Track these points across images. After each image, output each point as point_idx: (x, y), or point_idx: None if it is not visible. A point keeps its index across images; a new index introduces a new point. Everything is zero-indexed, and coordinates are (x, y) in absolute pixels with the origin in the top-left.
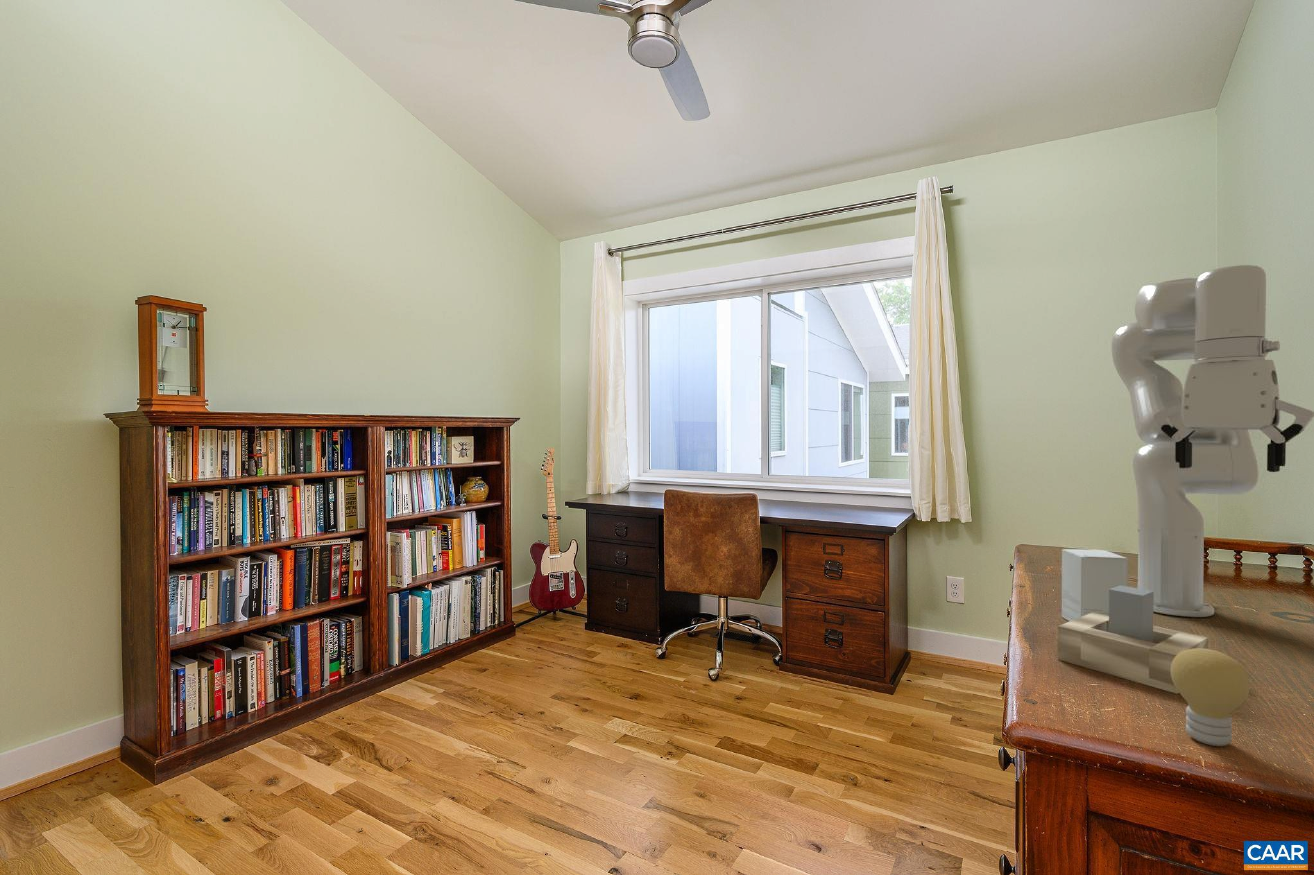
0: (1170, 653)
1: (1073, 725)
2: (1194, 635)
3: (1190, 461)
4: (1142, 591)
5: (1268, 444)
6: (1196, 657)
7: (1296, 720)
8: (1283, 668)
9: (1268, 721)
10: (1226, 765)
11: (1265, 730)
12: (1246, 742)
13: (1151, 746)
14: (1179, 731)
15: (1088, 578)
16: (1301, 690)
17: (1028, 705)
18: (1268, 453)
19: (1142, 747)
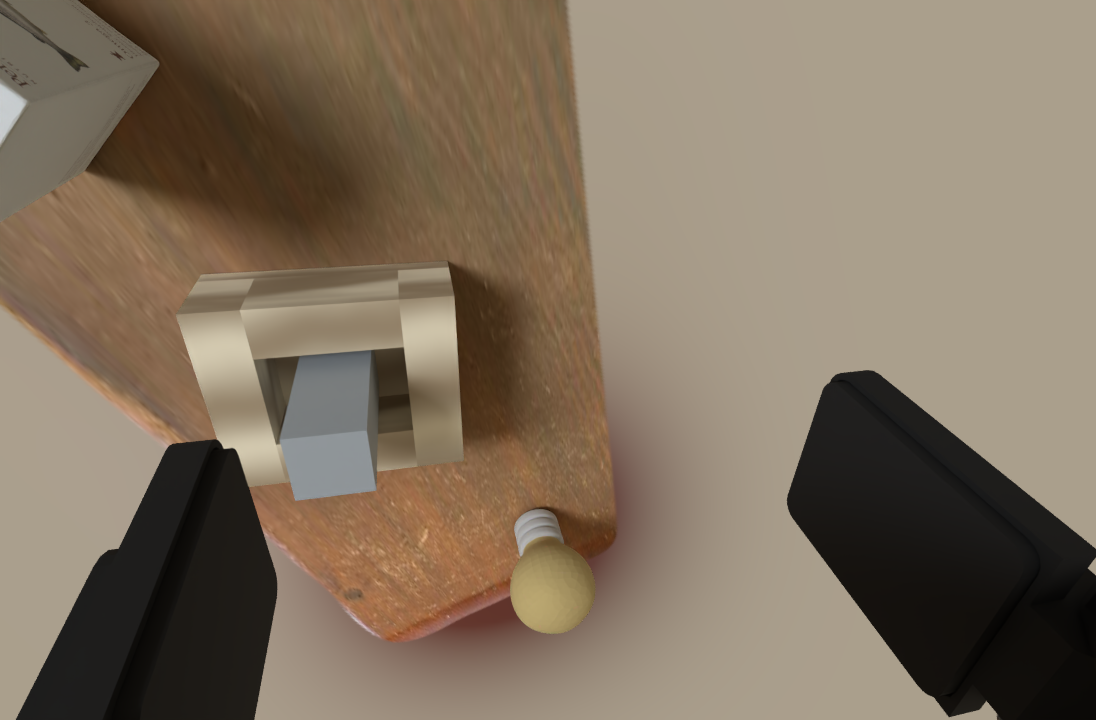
0: (452, 461)
1: (425, 601)
2: (430, 306)
3: (231, 522)
4: (352, 455)
5: (940, 695)
6: (551, 633)
7: (594, 370)
8: (537, 61)
9: (569, 406)
10: None
11: (572, 439)
12: (563, 489)
13: (500, 576)
14: (505, 523)
15: (3, 212)
16: (584, 209)
17: (361, 604)
18: (877, 620)
19: (495, 584)
